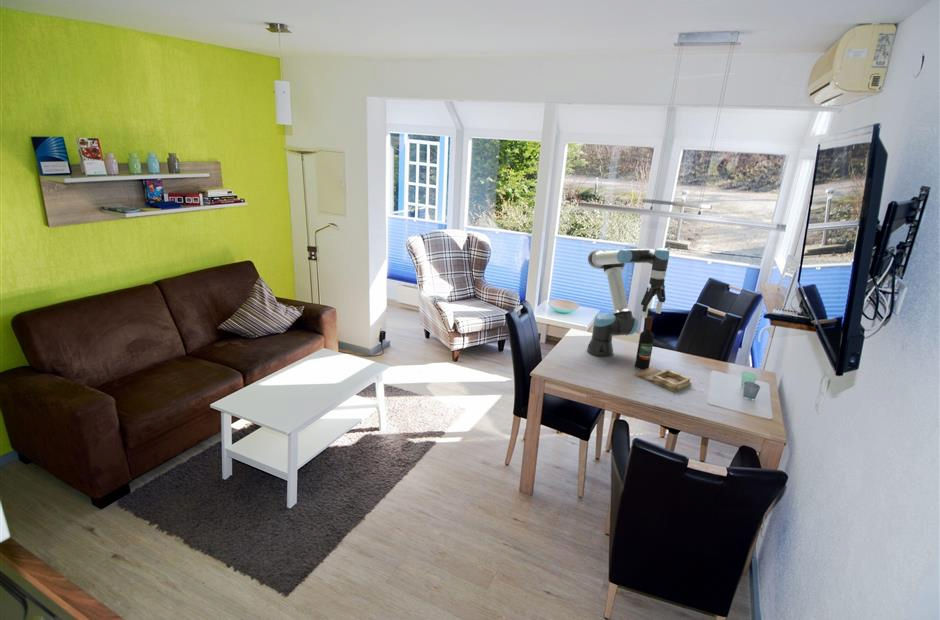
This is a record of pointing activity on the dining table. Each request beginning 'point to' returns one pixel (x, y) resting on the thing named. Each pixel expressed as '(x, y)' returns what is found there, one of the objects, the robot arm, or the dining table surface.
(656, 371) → the board
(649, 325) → the wine bottle
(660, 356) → the dining table surface
